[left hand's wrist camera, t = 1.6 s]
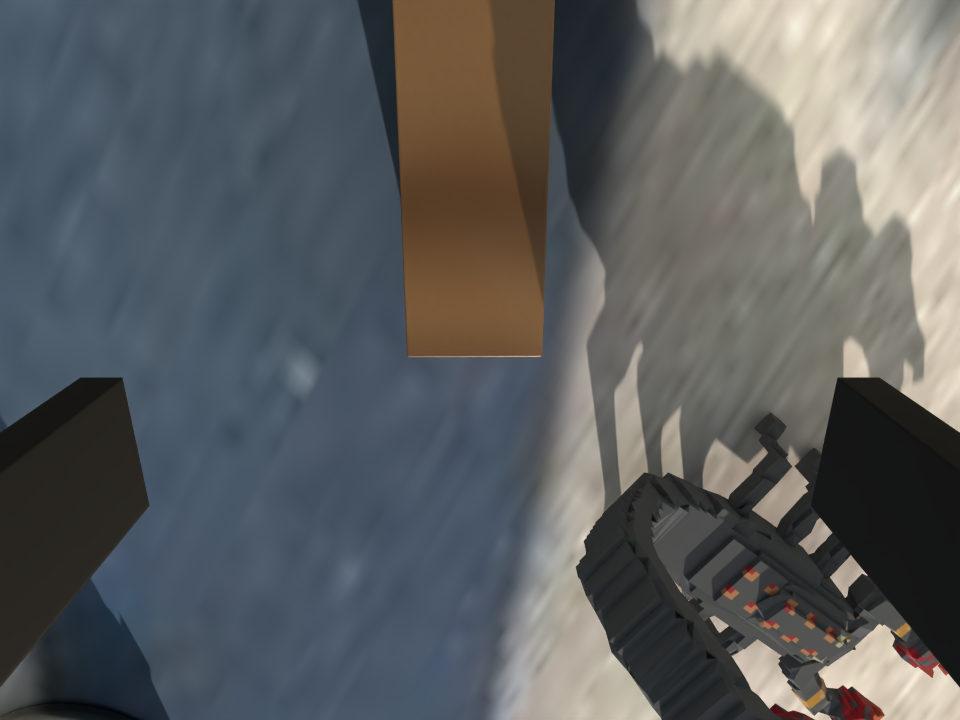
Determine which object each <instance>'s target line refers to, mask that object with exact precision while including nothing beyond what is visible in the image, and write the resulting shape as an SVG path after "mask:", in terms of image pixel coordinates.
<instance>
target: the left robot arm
mask: <svg viewBox="0 0 960 720" xmlns="http://www.w3.org/2000/svg"><path fill="white" fill-rule="evenodd" d="M148 507H149V501H148V497H147V492H146V487H145V482H144V478H143V473H142V468H141V464H140V459H139V454H138V449H137V445H136V440H135V435H134V430H133V426H132V421H131V416H130V412H129V407H128V402H127V397H126V393H125V388H124V383H123V378H79V379H78V380H76V381H75V382H74V383H72V384H71V385H69V386H68V387H66V388H65V389H63V390H62V391H60V392H59V393H57V394H56V395H55V396H53V397H52V398H50V399H49V400H47V401H46V402H44V403H43V404H41V405H40V406H39V407H37V408H36V409H34V410H33V411H31V412H30V413H28V414H27V415H25V416H24V417H22V418H21V419H20V420H18V421H17V422H15V423H14V424H12V425H11V426H9V427H8V428H6V429H5V430H4V431H2V432H1V433H0V687H1V686H2V685H3V683H4V682H5V681H6V680H7V678H8V677H9V676H10V675H11V674H12V672H13V671H14V670H15V669H16V668H17V666H18V665H19V664H20V663H21V661H22V660H23V659H24V658H25V657H26V655H27V654H28V653H29V652H30V650H31V649H32V648H33V647H34V646H35V644H36V643H37V642H38V641H39V640H40V638H41V637H42V636H43V635H44V633H45V632H46V631H47V630H48V629H49V627H50V626H51V625H52V624H53V622H54V621H55V620H56V619H57V618H58V616H59V615H60V614H61V613H62V612H63V610H64V609H65V608H66V607H67V605H68V604H69V603H70V602H71V601H72V599H73V598H74V597H75V596H76V595H77V593H78V592H79V591H80V590H81V588H82V587H83V586H84V585H85V584H86V582H87V581H88V580H89V579H90V577H91V576H92V575H93V574H94V573H95V571H96V570H97V569H98V568H99V567H100V565H101V564H102V563H103V562H104V560H105V559H106V558H107V557H108V556H109V554H110V553H111V552H112V551H113V550H114V548H115V547H116V546H117V545H118V543H119V542H120V541H121V540H122V539H123V537H124V536H125V535H126V534H127V532H128V531H129V530H130V529H131V528H132V526H133V525H134V524H135V523H136V522H137V520H138V519H139V518H140V517H141V515H142V514H143V513H144V512H145V511H146V509H147V508H148ZM811 507H812V508H813V509H814V511H815V512H816V513H817V514H818V515H819V517H820V518H821V519H822V520H823V522H824V523H825V524H826V525H827V526H828V528H829V529H830V530H831V531H832V532H833V534H834V535H835V536H836V537H837V539H838V540H839V541H840V542H841V543H842V545H843V546H844V547H845V548H846V550H847V551H848V552H849V553H850V554H851V556H852V557H853V558H854V559H855V560H856V562H857V563H858V564H859V565H860V567H861V568H862V569H863V570H864V571H865V573H866V574H867V575H868V576H869V577H870V579H871V580H872V581H873V582H874V584H875V585H876V586H877V587H878V588H879V590H880V591H881V592H882V593H883V595H884V596H885V597H886V598H887V599H888V601H889V602H890V603H891V604H892V605H893V607H894V608H895V609H896V610H897V612H898V613H899V614H900V615H901V616H902V618H903V619H904V620H905V621H906V622H907V624H908V625H909V626H910V627H911V629H912V630H913V631H914V632H915V633H916V635H917V636H918V637H919V638H920V640H921V641H922V642H923V643H924V644H925V646H926V647H927V648H928V649H929V650H930V652H931V653H932V654H933V655H934V657H935V658H936V659H937V660H938V661H939V663H940V664H941V665H942V666H943V668H944V669H945V670H946V671H947V672H948V674H949V675H950V676H951V677H952V678H953V680H954V681H955V682H956V683H957V685H958V686H959V687H960V433H959V432H958V431H956V430H955V429H954V428H952V427H951V426H949V425H948V424H946V423H945V422H943V421H942V420H940V419H939V418H938V417H936V416H935V415H933V414H932V413H930V412H929V411H927V410H926V409H924V408H923V407H921V406H920V405H919V404H917V403H916V402H914V401H913V400H911V399H910V398H908V397H907V396H905V395H904V394H903V393H901V392H900V391H898V390H897V389H895V388H894V387H892V386H891V385H889V384H888V383H886V382H885V381H884V380H882V379H881V378H837V383H836V388H835V393H834V397H833V402H832V407H831V412H830V416H829V421H828V426H827V430H826V435H825V440H824V445H823V449H822V454H821V459H820V464H819V468H818V473H817V478H816V482H815V487H814V492H813V497H812V501H811ZM0 720H132V719H130V718H128V717H125V716H123V715H120V714H117V713H114V712H111V711H108V710H104V709H101V708H96V707H91V706H85V705H78V704H43V705H36V706H30V707H26V708H23V709H19V710H16V711H13V712H11V713H8V714H6V715H4V716H2V717H0Z"/></svg>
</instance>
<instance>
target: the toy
mask: <svg viewBox="0 0 960 720" xmlns="http://www.w3.org/2000/svg"><path fill="white" fill-rule="evenodd" d="M785 428H786V426H785V424H784V423H783V422H782V421H780V420H779V419H778V418H777V417H775V416H774V415H773V414H772V413H770V414H769V415H768V416H767V417H766V418H765V419H764V420H763V421H762V422H761V423H760V424H759V425H758V426H757V427H756V428H755V429H757V430H758V431H759V432H760V433H761V434H762V436H761V438H760V439H759V441H760V442H761V444H762V445H763V446H764V447H765V449H766V450H767V451H768V452H769V453H768V454H767V455H766V456H765V457H764V458H763V459H762V461H761V462H760V463H759V464H758V465H757V466H756V467H755V468H754V469H753V473H752V474H751V475H750V476H749V477H748V478H747V479H746V480H745V481H744V482H743V483H742V484H741V485H740V486H738V487H737V488H736V489H735V490H734V491H733V492H732V493H731V494H730V496H729V499H726V498H724V497H722V496H721V495H718V494H715V493H713V492H710V491H707V490H704V489H701V488H698V487H696V486H694V485H693V484H691V483H689V482H687V481H685V480H683V479H681V478H679V477H677V476H674V475H672V474H670V473H667V474H666V475H665V476H664V477H663V478H660V477H657V476H655V475H652V474H648V473H645V472H644V473H643V474H642V475H641V476H640V477H639V478H638V479H637V480H636V481H635V482H634V483H633V484H632V485H631V486H630V487H629V488H628V489H627V490H626V491H625V492H624V493H623V494H622V495H621V496H620V497H619V498H618V499H617V500H616V501H615V502H614V503H613V504H612V505H611V506H610V507H609V508H608V509H607V510H606V511H605V512H604V513H603V514H602V515H603V516H602V517H601V518H600V519H599V520H598V521H597V522H596V524H595V525H594V526H593V529H592V530H591V531H590V534H589V535H588V536H587V538H586V539H585V540H584V544H585V548H586V555H585V556H584V557H583V558H582V559H581V560H580V563H579V564H578V565H577V566H576V570H577V574H578V577H579V578H580V580H581V583H582V585H583V588H584V591H585V594H586V596H587V598H588V600H589V601H590V603H591V605H592V607H593V608H594V610H595V612H596V614H597V616H598V618H599V620H600V621H601V623H602V625H603V627H604V629H605V631H606V634H607V638H608V641H609V645H610V648H611V652H612V653H613V654H614V656H615V657H616V658H617V659H618V660H619V661H620V663H621V664H622V665H623V666H624V667H625V668H626V670H627V671H628V672H629V673H630V675H631V676H632V678H633V679H634V681H635V682H636V684H637V685H638V686H639V688H640V689H641V691H642V692H643V694H644V695H645V697H646V698H647V700H648V701H649V703H650V704H651V706H652V707H653V708H654V710H655V711H656V712H657V713H658V715H659V716H660V717H661V719H662V720H814V719H812V718H811V717H809V716H807V715H805V714H803V713H800V712H796V711H790V712H788V711H786V710H785V709H783V708H782V707H780V706H778V705H777V704H774V705H773V706H772V707H771V708H770V709H769V708H768V707H767V706H766V704H765V703H764V702H763V701H762V699H761V698H760V697H759V696H758V695H757V694H755V693H754V692H753V691H751V689H750V686H749V684H748V682H747V680H746V679H745V677H744V675H743V673H742V672H741V670H740V669H739V667H738V666H737V664H736V662H735V661H734V659H733V658H732V656H733V655H735V654H736V653H738V652H740V651H741V650H742V649H746V648H747V647H748V646H749V645H750V644H752V643H753V642H754V641H755V640H757V639H758V640H760V641H761V642H763V643H764V644H766V645H767V646H769V647H770V648H771V649H773V650H774V651H776V652H777V653H779V654H780V655H782V656H781V657H780V658H779V660H780V662H779V666H780V668H781V669H782V673H783V674H784V675H785V676H786V677H787V678H788V679H789V680H788V681H787V683H788V684H789V685H790V686H791V687H792V689H791V690H792V691H793V692H794V694H795V695H796V696H797V697H798V699H799V700H800V701H801V702H802V704H803V705H804V706H805V707H806V708H807V709H808V710H809V711H810V712H811V713H812V714H813V715H814V716H815V715H816V714H817V713H818V712H820V713H824V714H827V715H829V716H830V718H831V719H832V720H880V719H881V718H882V717H884V716H885V715H884V713H883V712H882V710H881V709H880V708H879V707H878V706H876V705H875V704H874V703H872V702H871V701H869V700H868V699H867V698H865V697H864V696H863V695H862V694H860V693H859V692H858V691H857V690H856V689H854V688H853V687H850V688H849V689H847V688H846V687H844V686H841V687H840V688H838V689H834V688H827V687H826V686H825V683H824V680H823V679H822V678H821V677H820V676H819V674H818V671H819V670H821V669H822V668H823V667H824V666H829V665H830V664H832V663H833V662H835V661H836V660H837V659H839V658H840V657H842V656H843V655H845V654H846V653H848V652H849V651H851V650H856V649H855V646H856V645H857V644H858V643H859V642H860V641H861V640H862V639H863V638H864V637H865V636H866V635H868V634H869V633H870V632H871V631H873V630H874V629H875V627H876V626H877V625H878V624H881V625H882V626H883V625H884V624H885V625H886V626H887V627H888V628H890V629H891V633H892V634H893V636H894V638H895V641H894V643H893V647H894V649H895V650H896V651H897V653H898V654H899V655H900V656H901V658H902V659H904V660H905V661H906V662H908V663H909V664H911V665H912V666H913V667H915V668H916V667H919V668H920V669H921V670H923V671H924V672H925V673H927V674H928V675H929V676H930V677H932V678H933V673H934V672H933V668H934V667H935V666H937V665H938V664H939V661H938V660H937V659H936V658H935V657H934V655H933V654H932V653H931V652H930V650H929V649H928V648H927V647H926V646H925V644H924V643H923V642H922V641H921V640H920V638H919V637H918V636H917V635H916V633H915V632H914V631H913V630H912V629H911V627H910V626H909V625H908V624H907V622H906V621H905V620H904V619H903V618H902V616H901V615H900V614H899V613H898V612H897V610H896V609H895V608H894V607H893V605H892V604H891V603H890V602H889V601H888V599H887V598H886V597H885V596H884V595H883V593H882V592H881V591H880V590H879V588H878V587H877V586H876V585H875V584H874V582H873V581H872V580H871V579H870V577H869V576H866V575H864V574H861V575H860V576H859V577H858V579H857V580H856V581H855V582H854V583H853V584H852V585H851V586H850V587H849V589H848V596H847V597H846V598H844V596H843V594H842V593H841V592H840V590H839V589H838V588H837V586H836V585H835V584H834V582H833V581H832V580H831V578H830V576H831V575H832V574H833V573H834V572H835V571H836V570H837V569H838V568H839V567H840V566H841V565H842V564H843V563H844V562H845V561H846V560H847V559H848V557H849V556H850V555H851V554H850V553H849V552H848V551H847V550H846V548H845V547H844V546H843V545H842V543H841V542H840V541H839V540H838V539H837V537H836V536H835V535H834V534H833V533H832V534H831V535H830V536H829V537H828V538H827V540H826V541H825V542H824V543H823V544H821V545H820V546H819V547H818V548H817V550H816V551H815V553H812V554H809V555H808V554H807V552H806V551H805V550H804V548H803V547H801V546H800V545H799V544H798V543H799V542H800V541H802V540H803V539H804V538H805V537H806V536H807V535H809V534H810V533H811V531H812V529H813V527H814V525H815V523H816V521H817V520H818V519H819V518H820V517H819V515H818V514H817V513H816V512H815V511H814V509H813V508H812V507H811V501H812V497H813V492H814V487H815V482H816V478H817V472H818V468H819V464H820V459H821V453H820V452H819V451H818V450H816V449H815V448H814V449H813V450H812V451H811V452H809V453H808V454H807V455H806V456H805V457H804V458H803V459H802V460H801V461H800V462H799V463H798V464H797V465H795V467H796V468H797V469H798V471H799V472H800V473H801V474H802V475H803V476H804V477H805V478H806V480H807V481H808V482H809V484H808V485H806V486H805V487H806V488H807V490H808V492H807V493H805V494H804V495H803V496H802V497H801V498H800V499H799V500H798V502H797V503H796V504H795V505H794V506H793V507H792V508H791V509H790V510H789V511H788V512H787V514H786V515H785V516H784V517H783V518H782V519H781V521H780V523H779V525H778V527H777V528H776V527H775V526H773V525H772V524H771V523H769V522H768V521H767V520H765V519H764V518H762V517H761V516H759V515H758V514H757V513H755V512H754V511H752V509H753V507H754V506H755V505H756V504H757V503H758V502H759V501H760V500H761V499H762V498H763V497H764V496H765V495H766V494H767V493H768V492H769V491H770V490H771V489H772V488H773V487H774V486H775V485H776V484H777V483H778V482H779V481H780V479H781V478H782V477H783V476H784V475H785V474H786V473H787V472H788V471H789V469H790V468H791V467H792V466H791V465H790V463H789V462H788V461H787V460H786V459H785V457H786V456H787V455H788V454H787V453H786V452H785V451H784V450H783V449H782V448H781V447H780V446H779V445H778V443H777V440H778V438H779V437H780V436H781V434H782V433H783V432H784V430H785ZM673 580H674V581H675V582H676V583H677V584H678V585H679V586H680V587H681V588H682V589H684V590H685V591H686V592H687V593H688V594H690V595H691V596H692V597H693V599H692V600H691V601H688V600H687V599H686V598H685V597H684V596H683V594H682V593H681V592H680V591H679V589H678V587H677V586H676V584H675V583H674V581H673ZM714 615H715V616H716V617H717V618H719V619H720V620H722V621H723V622H725V623H726V624H728V625H729V627H727V628H726V629H725V630H723V631H722V632H721V633H719V632H718V631H717V629H716V628H715V626H714V624H713V623H712V621H711V619H710V618H709V617H712V616H714ZM938 667H939V668H940V669H941V670H942V672H943V673H944V674H945V675H947V674H948V672H947V671H946V670H945V669H944V668H943V666H942V665H941V664H939V665H938Z"/></svg>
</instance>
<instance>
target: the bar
mask: <svg viewBox="0 0 960 720" xmlns="http://www.w3.org/2000/svg"><path fill="white" fill-rule="evenodd" d="M392 5H393V29H394V53H395V77H396V101H397V125H398V149H399V173H400V196H401V220H402V244H403V268H404V292H405V316H406V340H407V356H408V357H541V356H542V342H543V314H544V286H545V258H546V230H547V202H548V174H549V146H550V118H551V90H552V62H553V34H554V6H555V0H392Z"/></svg>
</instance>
